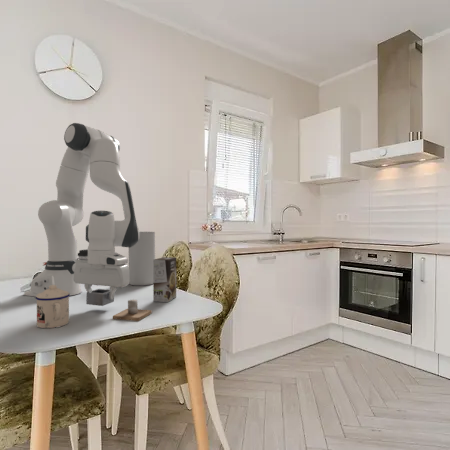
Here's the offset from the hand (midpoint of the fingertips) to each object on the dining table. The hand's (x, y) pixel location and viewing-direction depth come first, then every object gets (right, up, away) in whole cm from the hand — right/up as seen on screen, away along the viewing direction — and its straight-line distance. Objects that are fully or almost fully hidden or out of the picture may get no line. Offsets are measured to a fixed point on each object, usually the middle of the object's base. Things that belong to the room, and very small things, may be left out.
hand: (100, 298), depth 119 cm
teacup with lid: (-8, -5, -17) cm, 19 cm away
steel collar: (0, -2, 0) cm, 2 cm away
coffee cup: (-29, -3, +63) cm, 70 cm away
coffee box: (+20, -4, +16) cm, 26 cm away
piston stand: (+13, -4, -7) cm, 15 cm away
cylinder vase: (+3, -4, +49) cm, 49 cm away
